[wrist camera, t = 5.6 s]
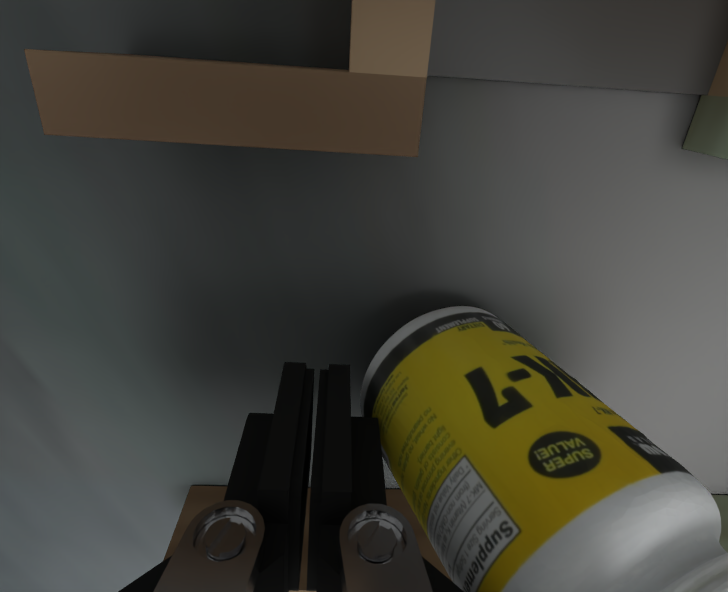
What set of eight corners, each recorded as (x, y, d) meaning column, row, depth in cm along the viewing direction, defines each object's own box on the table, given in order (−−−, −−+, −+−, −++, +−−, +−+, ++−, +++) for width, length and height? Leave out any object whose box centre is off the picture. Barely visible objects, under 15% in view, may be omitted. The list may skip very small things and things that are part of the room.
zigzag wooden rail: (41, -507, 7) (-229, -1015, 4) (1322, -330, 8) (1964, -589, 5) (194, 509, 16) (158, 614, 13) (757, 517, 18) (845, 615, 14)
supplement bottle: (527, 304, 13) (932, 592, 6) (469, 431, 15) (737, 758, 8) (382, 294, 11) (769, 718, 4) (335, 445, 13) (552, 908, 6)
